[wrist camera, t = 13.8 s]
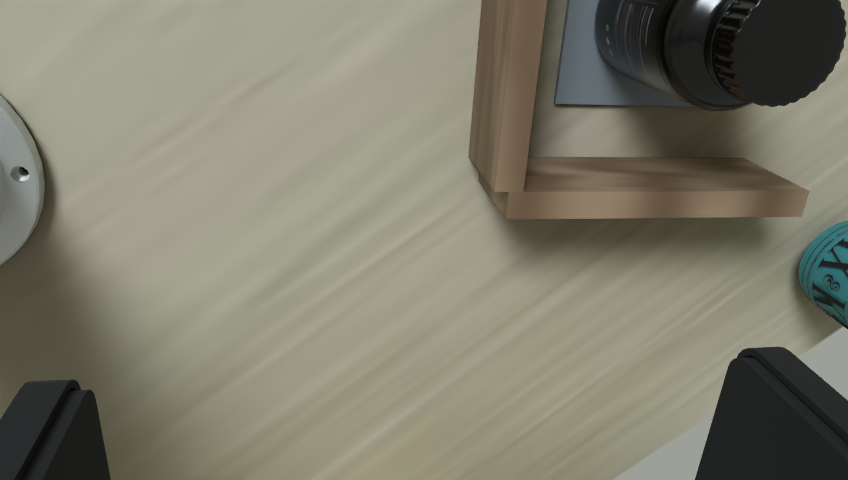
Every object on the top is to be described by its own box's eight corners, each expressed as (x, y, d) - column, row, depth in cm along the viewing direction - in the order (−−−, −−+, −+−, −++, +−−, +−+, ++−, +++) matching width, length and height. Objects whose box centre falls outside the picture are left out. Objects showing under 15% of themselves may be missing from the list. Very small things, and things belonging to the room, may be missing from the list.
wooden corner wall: (466, 181, 39) (491, 219, 33) (497, -187, 31) (537, -214, 26) (737, 180, 42) (801, 216, 36) (826, -155, 34) (924, -174, 29)
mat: (553, 102, 37) (555, 103, 37) (580, -92, 33) (582, -93, 33) (712, 106, 39) (715, 107, 39) (756, -79, 35) (759, -80, 35)
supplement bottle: (699, -71, 34) (877, -77, 24) (713, 55, 37) (876, 100, 27) (578, -27, 34) (699, -14, 24) (601, 95, 37) (719, 157, 27)
